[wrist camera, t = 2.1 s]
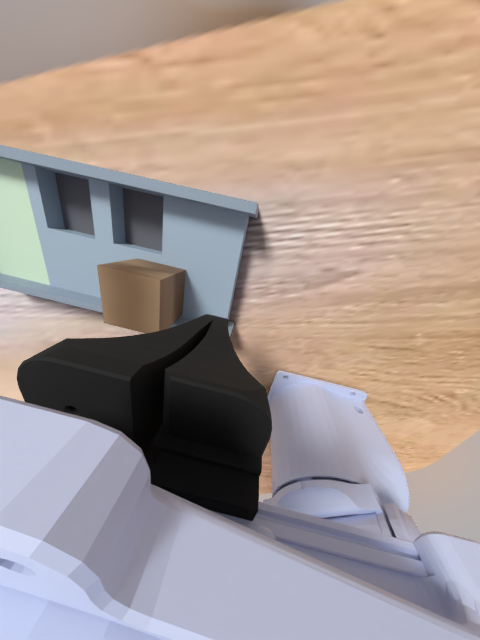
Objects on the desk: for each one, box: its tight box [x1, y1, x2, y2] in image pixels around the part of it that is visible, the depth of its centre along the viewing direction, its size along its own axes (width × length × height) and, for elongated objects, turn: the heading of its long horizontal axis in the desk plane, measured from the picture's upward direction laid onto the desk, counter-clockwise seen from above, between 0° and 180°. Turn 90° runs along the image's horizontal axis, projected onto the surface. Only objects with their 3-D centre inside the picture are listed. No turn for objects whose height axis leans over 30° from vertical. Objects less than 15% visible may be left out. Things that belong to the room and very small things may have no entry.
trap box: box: [0, 145, 259, 336], centre depth 15 cm, size 23×10×3 cm, turn 78°
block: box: [97, 258, 186, 333], centre depth 14 cm, size 4×4×4 cm
